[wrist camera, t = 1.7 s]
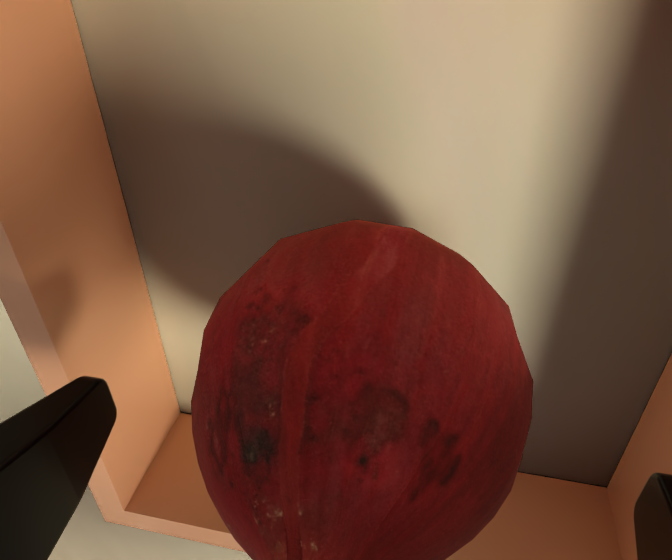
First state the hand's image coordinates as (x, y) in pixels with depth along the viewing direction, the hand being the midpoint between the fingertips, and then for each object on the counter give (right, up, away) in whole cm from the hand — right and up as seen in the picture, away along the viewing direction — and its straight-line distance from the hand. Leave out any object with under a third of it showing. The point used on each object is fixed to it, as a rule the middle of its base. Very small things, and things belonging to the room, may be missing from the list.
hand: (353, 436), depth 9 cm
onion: (+1, +3, +4) cm, 5 cm away
